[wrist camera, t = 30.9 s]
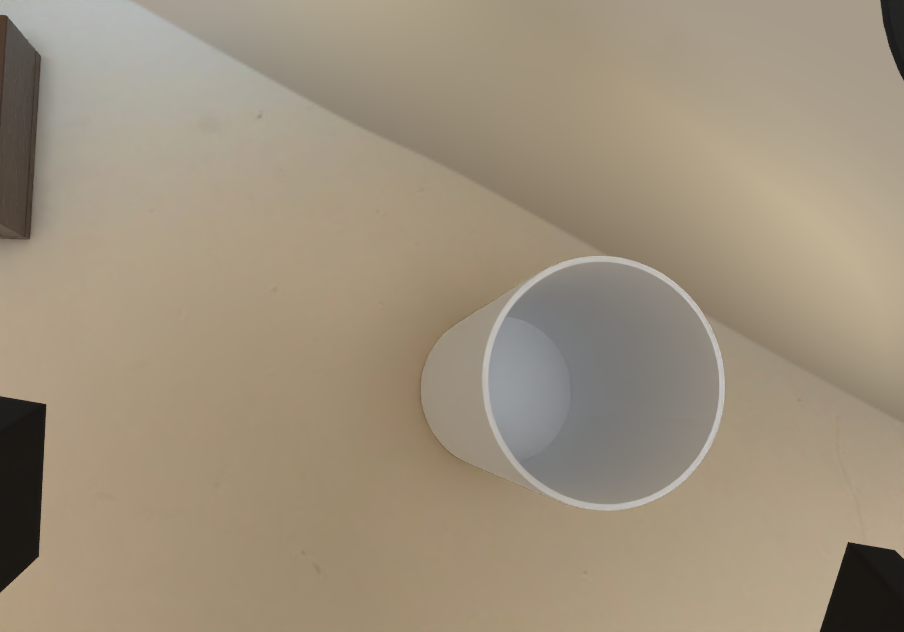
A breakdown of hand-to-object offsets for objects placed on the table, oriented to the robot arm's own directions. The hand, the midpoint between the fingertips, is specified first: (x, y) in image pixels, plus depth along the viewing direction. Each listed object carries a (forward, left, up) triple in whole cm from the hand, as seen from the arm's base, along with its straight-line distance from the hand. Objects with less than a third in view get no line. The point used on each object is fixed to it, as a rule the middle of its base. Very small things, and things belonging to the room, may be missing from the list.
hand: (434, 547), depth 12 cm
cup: (-7, -3, -27) cm, 28 cm away
